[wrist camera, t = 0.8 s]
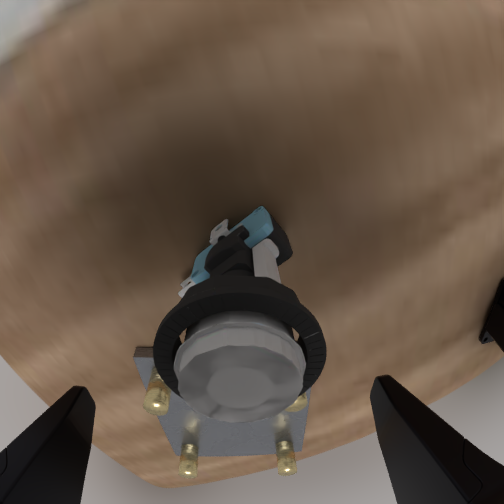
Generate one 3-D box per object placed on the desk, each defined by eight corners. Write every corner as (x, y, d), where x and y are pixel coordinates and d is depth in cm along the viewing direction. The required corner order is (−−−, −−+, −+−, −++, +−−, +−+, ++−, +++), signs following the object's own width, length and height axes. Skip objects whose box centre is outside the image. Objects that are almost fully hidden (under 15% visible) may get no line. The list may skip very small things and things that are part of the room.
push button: (215, 311, 19) (205, 459, 10) (152, 250, 18) (88, 389, 9) (306, 248, 18) (363, 388, 9) (245, 173, 16) (256, 275, 7)
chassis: (312, 340, 21) (324, 384, 17) (300, 442, 27) (305, 476, 23) (136, 347, 21) (122, 390, 17) (177, 447, 27) (173, 481, 23)
